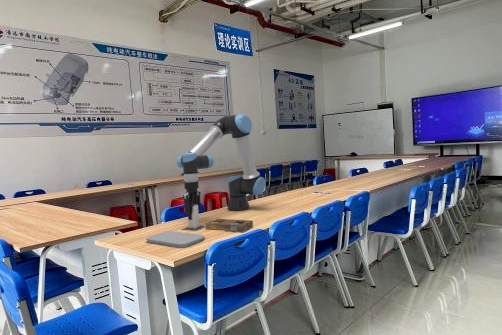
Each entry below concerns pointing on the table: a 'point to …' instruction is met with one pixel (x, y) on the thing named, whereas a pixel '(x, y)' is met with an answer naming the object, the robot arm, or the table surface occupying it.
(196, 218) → the grey upright block
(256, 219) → the table surface
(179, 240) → the tablet
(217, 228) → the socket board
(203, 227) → the mat
